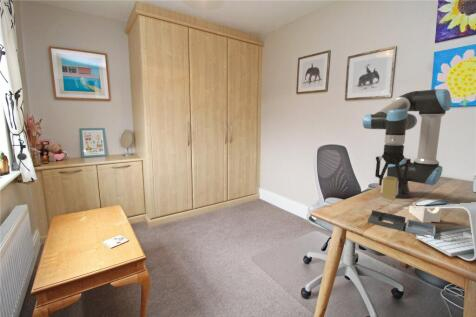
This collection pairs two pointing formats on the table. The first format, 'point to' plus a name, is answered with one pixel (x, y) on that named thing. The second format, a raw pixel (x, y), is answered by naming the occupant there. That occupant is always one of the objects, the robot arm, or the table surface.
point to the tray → (419, 228)
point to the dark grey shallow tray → (397, 220)
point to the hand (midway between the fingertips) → (389, 193)
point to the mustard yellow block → (389, 187)
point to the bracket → (426, 213)
